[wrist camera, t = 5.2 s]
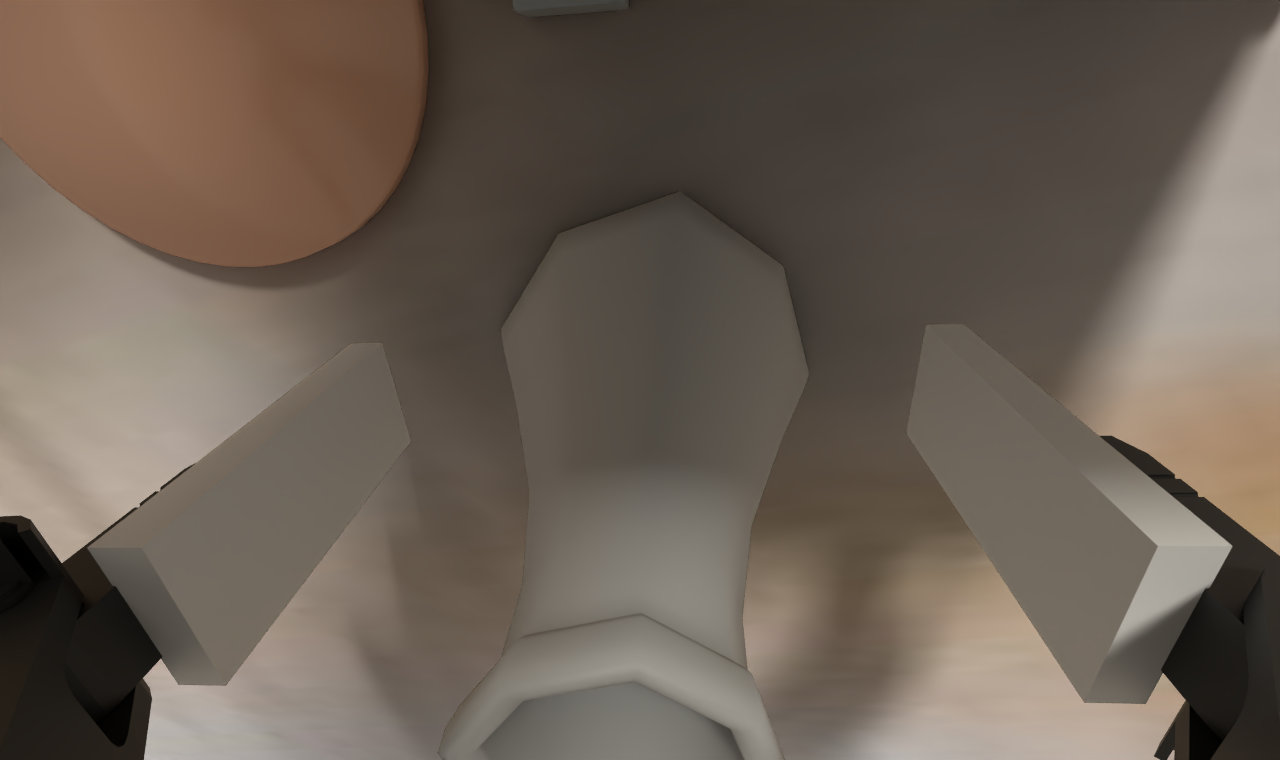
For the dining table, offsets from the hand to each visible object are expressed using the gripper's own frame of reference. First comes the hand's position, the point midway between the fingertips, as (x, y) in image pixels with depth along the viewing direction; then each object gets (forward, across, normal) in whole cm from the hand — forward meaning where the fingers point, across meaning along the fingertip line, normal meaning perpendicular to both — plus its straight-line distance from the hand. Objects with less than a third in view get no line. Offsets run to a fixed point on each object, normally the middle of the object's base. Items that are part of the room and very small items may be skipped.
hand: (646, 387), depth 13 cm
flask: (+2, 0, 0) cm, 2 cm away
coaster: (+1, -9, +8) cm, 12 cm away
